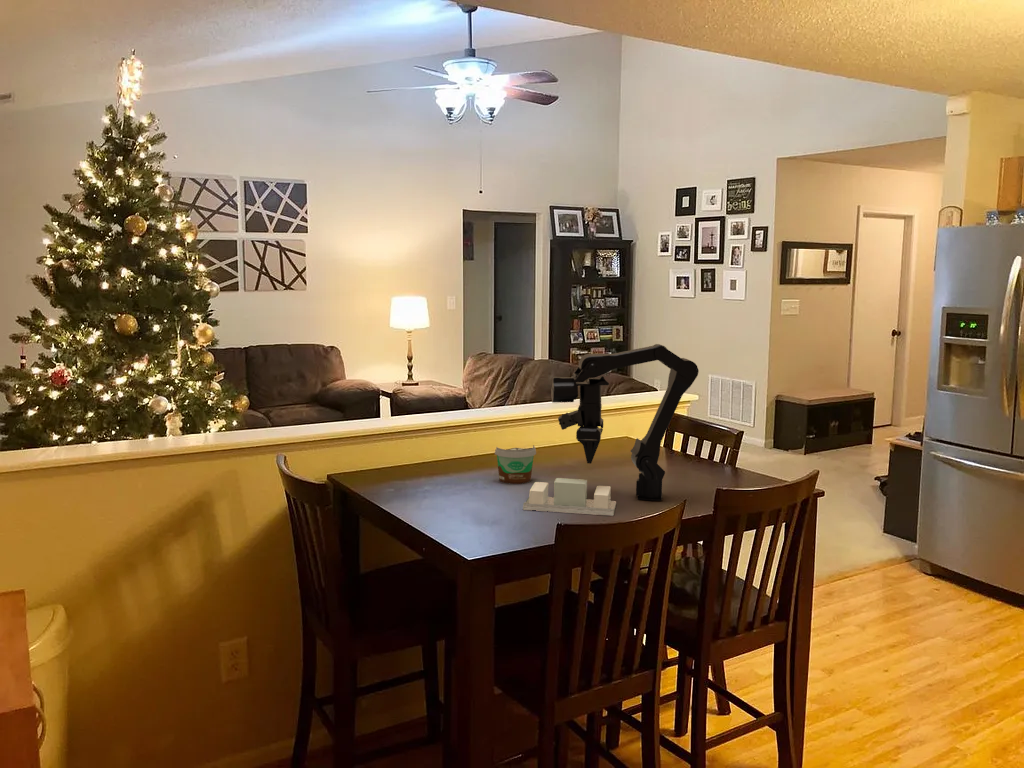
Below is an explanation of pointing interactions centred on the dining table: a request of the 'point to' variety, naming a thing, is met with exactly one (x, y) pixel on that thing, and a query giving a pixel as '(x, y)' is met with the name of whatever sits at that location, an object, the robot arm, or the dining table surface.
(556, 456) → the dining table surface
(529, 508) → the rail plate
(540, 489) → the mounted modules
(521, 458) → the food container
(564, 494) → the block
